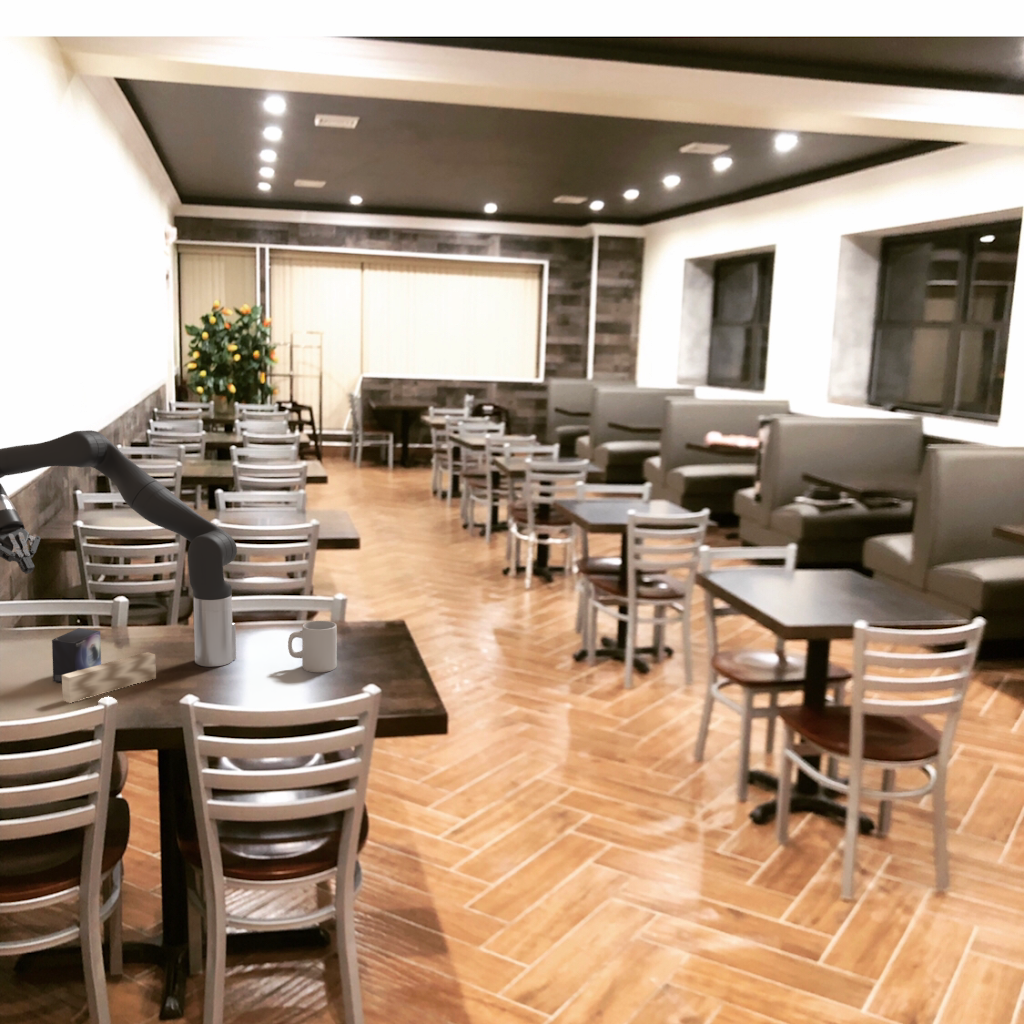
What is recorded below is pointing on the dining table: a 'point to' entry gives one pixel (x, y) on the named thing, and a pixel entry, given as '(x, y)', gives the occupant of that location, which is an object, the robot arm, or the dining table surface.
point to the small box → (75, 652)
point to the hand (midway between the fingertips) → (29, 571)
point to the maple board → (108, 676)
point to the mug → (316, 646)
